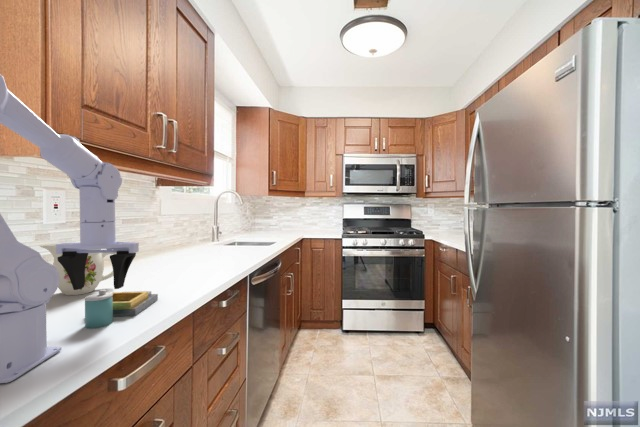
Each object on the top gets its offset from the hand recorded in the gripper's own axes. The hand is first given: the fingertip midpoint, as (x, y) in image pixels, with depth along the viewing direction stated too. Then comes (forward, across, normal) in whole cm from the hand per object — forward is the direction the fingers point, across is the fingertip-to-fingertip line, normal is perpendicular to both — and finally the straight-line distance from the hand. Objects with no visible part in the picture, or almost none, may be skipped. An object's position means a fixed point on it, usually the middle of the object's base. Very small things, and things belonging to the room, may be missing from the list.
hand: (99, 288), depth 59 cm
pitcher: (+8, +19, -25) cm, 32 cm away
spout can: (+7, 0, 0) cm, 7 cm away
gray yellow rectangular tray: (+7, 0, -9) cm, 12 cm away
